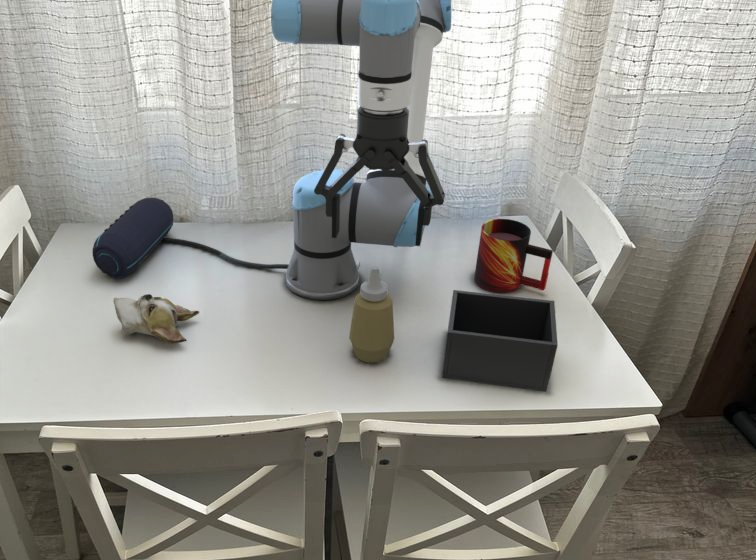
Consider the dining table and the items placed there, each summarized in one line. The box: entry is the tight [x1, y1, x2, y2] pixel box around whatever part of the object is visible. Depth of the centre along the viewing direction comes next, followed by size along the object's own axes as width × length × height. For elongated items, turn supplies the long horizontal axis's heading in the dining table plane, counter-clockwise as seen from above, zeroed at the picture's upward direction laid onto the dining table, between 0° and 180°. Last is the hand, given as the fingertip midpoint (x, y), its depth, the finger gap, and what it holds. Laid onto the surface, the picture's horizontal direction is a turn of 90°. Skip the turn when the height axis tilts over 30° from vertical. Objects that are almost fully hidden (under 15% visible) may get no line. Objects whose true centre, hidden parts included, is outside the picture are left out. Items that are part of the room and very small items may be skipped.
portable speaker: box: [92, 197, 174, 279], centre depth 159 cm, size 25×10×10 cm, turn 164°
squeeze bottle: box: [348, 265, 395, 364], centre depth 126 cm, size 8×8×18 cm
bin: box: [441, 289, 559, 393], centre depth 126 cm, size 18×14×10 cm
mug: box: [473, 218, 554, 294], centre depth 147 cm, size 10×14×12 cm
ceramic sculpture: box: [112, 293, 200, 344], centre depth 135 cm, size 11×9×15 cm
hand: (376, 238), depth 117 cm, fingers open, 13 cm apart
